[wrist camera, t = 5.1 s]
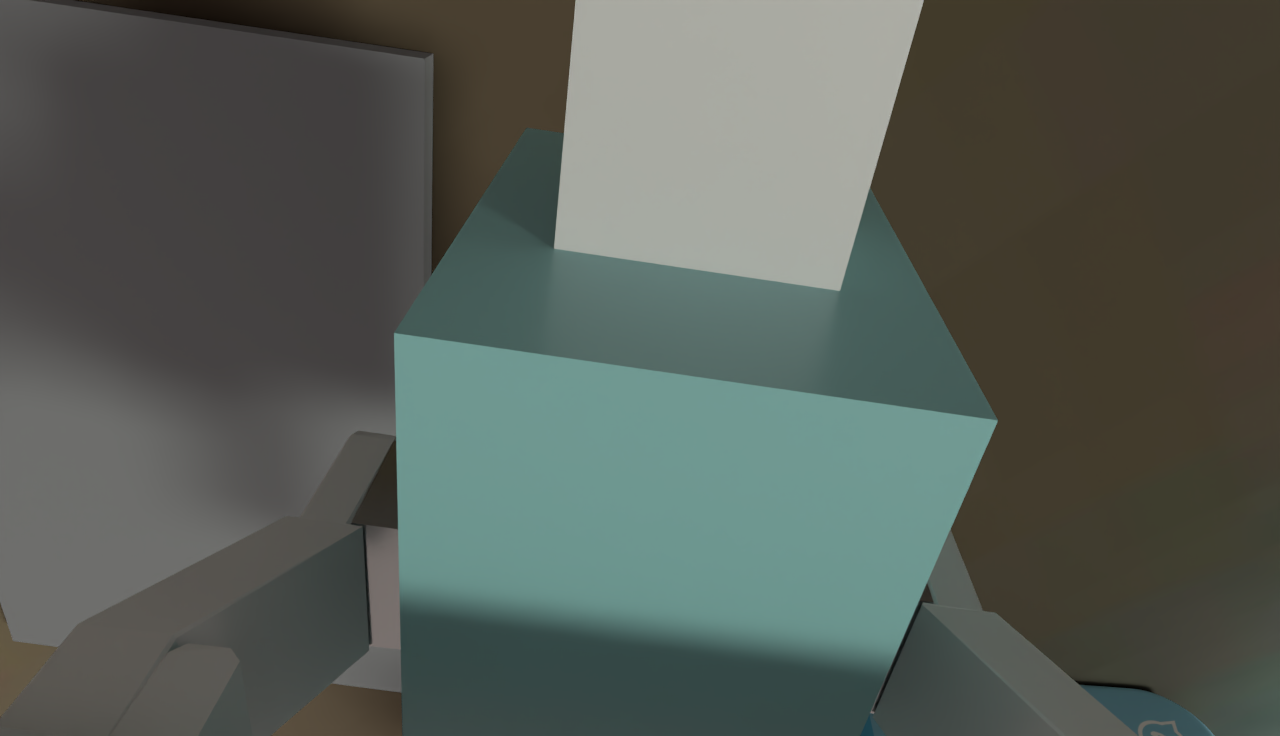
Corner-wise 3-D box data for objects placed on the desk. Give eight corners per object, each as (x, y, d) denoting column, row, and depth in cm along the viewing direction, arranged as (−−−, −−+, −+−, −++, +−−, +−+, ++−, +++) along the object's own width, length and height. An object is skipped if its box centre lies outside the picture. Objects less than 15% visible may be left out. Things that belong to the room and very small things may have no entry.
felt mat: (-188, -39, 16) (-218, -37, 15) (433, 53, 16) (424, 58, 16) (27, 625, 25) (13, 640, 24) (427, 678, 25) (422, 695, 25)
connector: (542, -108, 8) (386, -84, 4) (929, -47, 9) (1166, 39, 4) (486, 754, 16) (410, 1081, 12) (693, 781, 16) (693, 1116, 12)
